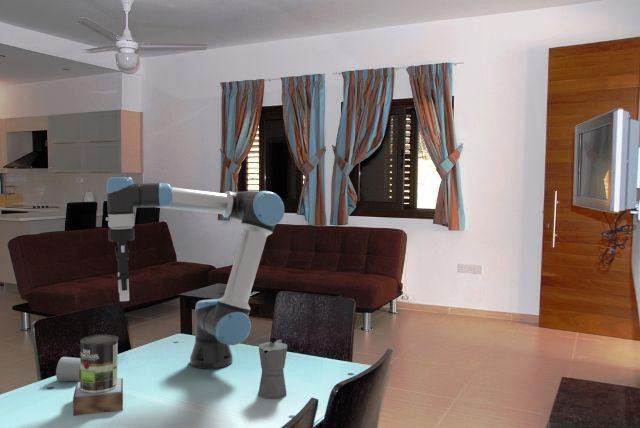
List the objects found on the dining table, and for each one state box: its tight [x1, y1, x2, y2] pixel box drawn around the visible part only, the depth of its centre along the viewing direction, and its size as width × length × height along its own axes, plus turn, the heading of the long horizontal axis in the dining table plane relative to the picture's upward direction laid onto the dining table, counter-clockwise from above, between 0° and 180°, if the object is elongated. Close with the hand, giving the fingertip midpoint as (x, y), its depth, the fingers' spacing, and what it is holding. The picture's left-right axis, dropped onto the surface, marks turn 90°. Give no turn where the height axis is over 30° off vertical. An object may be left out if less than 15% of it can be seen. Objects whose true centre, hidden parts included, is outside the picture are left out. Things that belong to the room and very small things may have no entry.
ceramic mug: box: [55, 356, 81, 382], centre depth 186 cm, size 11×8×8 cm
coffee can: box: [79, 334, 119, 393], centre depth 163 cm, size 10×10×14 cm
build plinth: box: [72, 377, 124, 416], centre depth 164 cm, size 13×13×5 cm
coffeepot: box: [258, 336, 288, 400], centre depth 175 cm, size 15×9×18 cm, turn 162°
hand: (123, 296), depth 173 cm, fingers open, 13 cm apart
